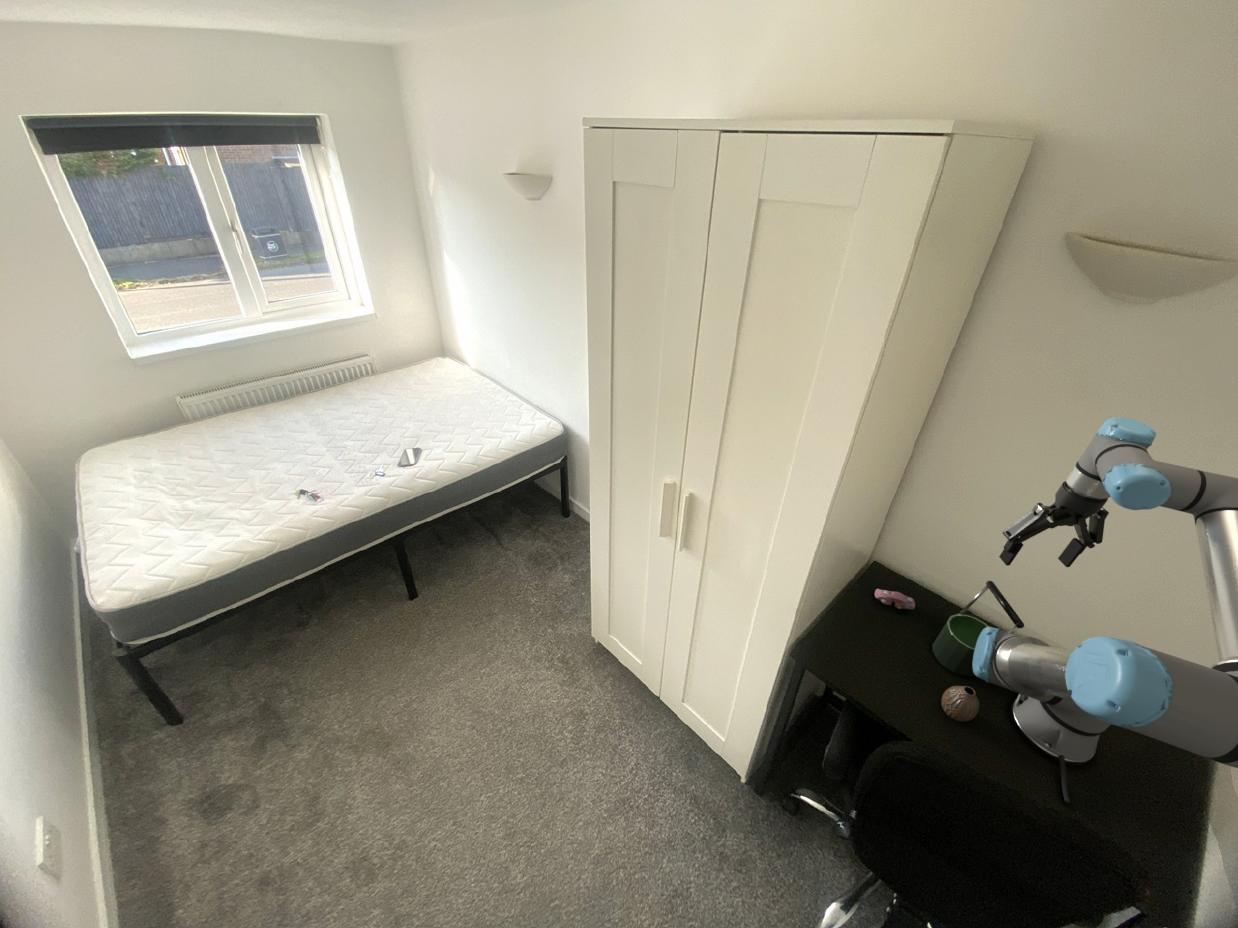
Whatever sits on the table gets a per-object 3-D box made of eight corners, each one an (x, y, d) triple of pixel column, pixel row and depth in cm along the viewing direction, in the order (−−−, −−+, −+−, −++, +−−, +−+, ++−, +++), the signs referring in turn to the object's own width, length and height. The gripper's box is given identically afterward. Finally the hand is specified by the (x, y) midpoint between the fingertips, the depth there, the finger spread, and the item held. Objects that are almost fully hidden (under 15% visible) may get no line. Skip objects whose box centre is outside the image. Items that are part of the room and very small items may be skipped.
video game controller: (871, 604, 144) (878, 597, 138) (873, 589, 146) (881, 582, 140) (909, 615, 141) (918, 609, 135) (911, 600, 143) (920, 593, 137)
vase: (968, 732, 113) (985, 711, 108) (934, 714, 117) (950, 693, 111) (972, 709, 118) (989, 688, 113) (939, 692, 121) (955, 670, 116)
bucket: (964, 635, 135) (1002, 579, 122) (992, 681, 124) (1037, 626, 111) (922, 633, 135) (956, 577, 122) (947, 679, 124) (986, 623, 111)
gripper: (1132, 479, 106) (1076, 551, 118) (1013, 476, 106) (970, 548, 118) (1163, 502, 100) (1100, 575, 112) (1037, 499, 100) (989, 572, 112)
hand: (1033, 562), depth 115 cm, fingers open, 13 cm apart
